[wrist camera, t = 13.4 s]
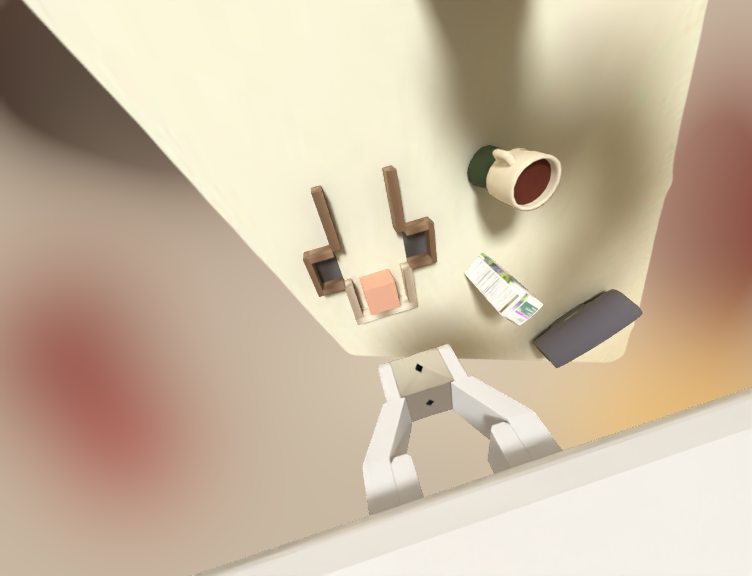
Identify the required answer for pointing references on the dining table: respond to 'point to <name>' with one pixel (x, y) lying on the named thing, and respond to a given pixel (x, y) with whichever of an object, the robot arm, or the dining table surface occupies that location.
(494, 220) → the dining table surface
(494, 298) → the syrup box
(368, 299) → the terracotta block
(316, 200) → the trap channel
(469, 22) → the dining table surface
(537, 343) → the bluetooth speaker
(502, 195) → the character mug
